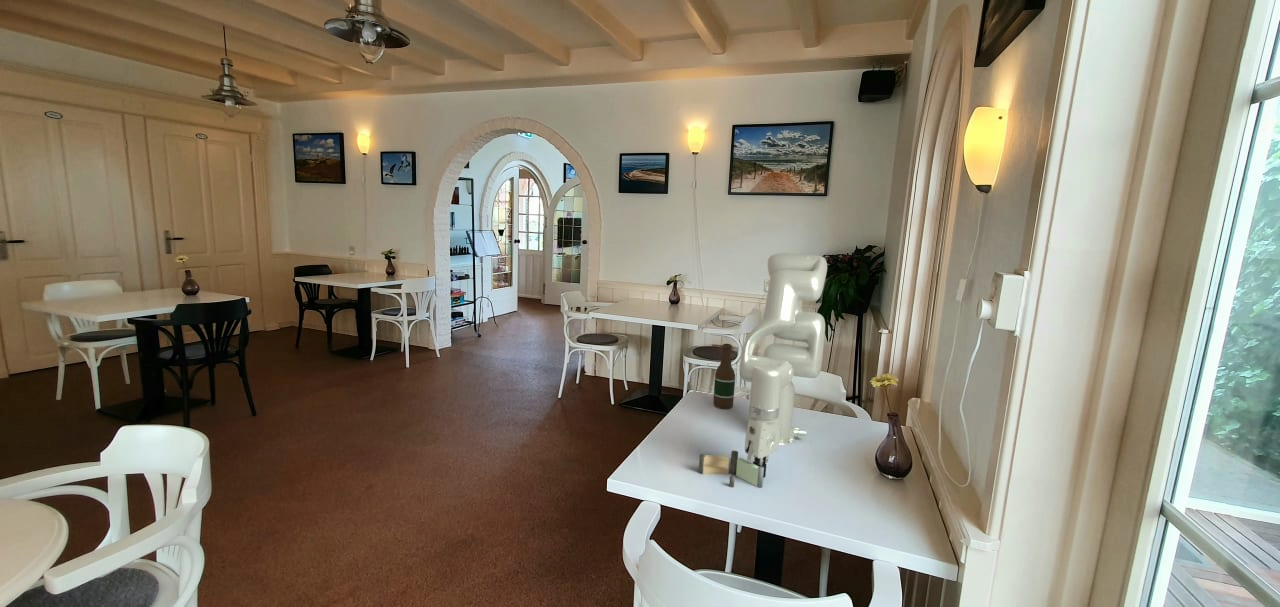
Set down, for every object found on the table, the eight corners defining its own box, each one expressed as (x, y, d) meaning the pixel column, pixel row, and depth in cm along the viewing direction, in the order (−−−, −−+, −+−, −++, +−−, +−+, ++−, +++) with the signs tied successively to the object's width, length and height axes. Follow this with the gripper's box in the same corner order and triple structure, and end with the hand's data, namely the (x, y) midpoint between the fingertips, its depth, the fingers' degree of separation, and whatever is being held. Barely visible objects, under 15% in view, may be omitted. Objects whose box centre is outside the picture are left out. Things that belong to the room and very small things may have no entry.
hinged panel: (735, 475, 138) (737, 457, 137) (739, 474, 139) (741, 456, 138) (759, 488, 132) (761, 469, 131) (763, 486, 133) (765, 467, 132)
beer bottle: (735, 404, 195) (740, 343, 192) (730, 410, 188) (734, 348, 185) (715, 400, 199) (720, 341, 195) (710, 407, 192) (714, 345, 188)
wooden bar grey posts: (735, 472, 140) (737, 450, 139) (744, 488, 132) (746, 465, 131) (698, 472, 140) (699, 450, 139) (704, 488, 131) (705, 465, 130)
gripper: (759, 423, 126) (754, 491, 129) (791, 409, 136) (785, 472, 139) (735, 414, 132) (730, 479, 135) (767, 401, 142) (762, 462, 145)
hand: (758, 476), depth 137 cm, fingers closed
